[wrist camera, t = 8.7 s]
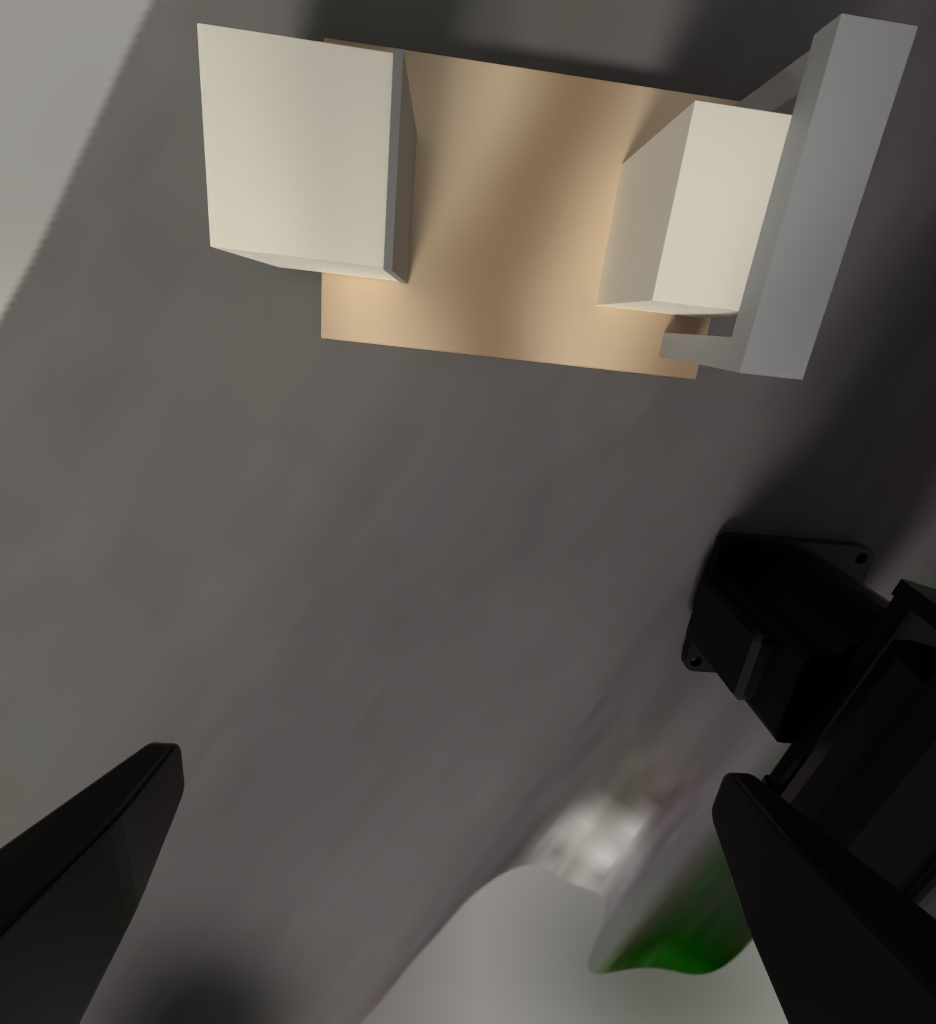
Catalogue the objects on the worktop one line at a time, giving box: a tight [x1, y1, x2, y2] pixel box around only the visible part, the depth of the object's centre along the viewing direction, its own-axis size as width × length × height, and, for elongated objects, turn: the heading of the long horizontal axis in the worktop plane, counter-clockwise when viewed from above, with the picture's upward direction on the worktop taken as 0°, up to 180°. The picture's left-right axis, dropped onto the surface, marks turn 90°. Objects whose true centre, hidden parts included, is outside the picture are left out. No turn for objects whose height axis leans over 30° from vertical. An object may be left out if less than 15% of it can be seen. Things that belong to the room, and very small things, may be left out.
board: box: [321, 38, 740, 379], centre depth 16 cm, size 13×8×1 cm, turn 84°
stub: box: [197, 23, 417, 284], centre depth 13 cm, size 4×4×5 cm
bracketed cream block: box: [596, 14, 918, 380], centre depth 14 cm, size 4×7×6 cm, turn 174°
